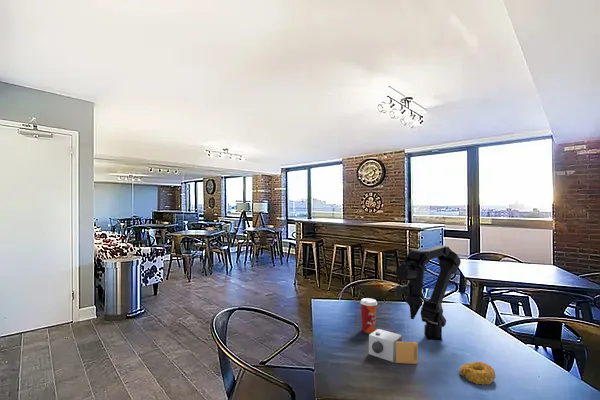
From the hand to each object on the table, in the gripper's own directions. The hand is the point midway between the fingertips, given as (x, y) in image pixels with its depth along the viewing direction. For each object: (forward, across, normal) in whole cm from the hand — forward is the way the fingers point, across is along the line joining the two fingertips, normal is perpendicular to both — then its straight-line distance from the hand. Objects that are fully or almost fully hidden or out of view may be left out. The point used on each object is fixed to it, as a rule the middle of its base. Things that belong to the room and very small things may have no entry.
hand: (412, 318), depth 138 cm
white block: (+13, +10, -8) cm, 19 cm away
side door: (+13, +14, -1) cm, 20 cm away
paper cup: (+12, -12, -18) cm, 25 cm away
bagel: (+12, +16, +22) cm, 30 cm away
